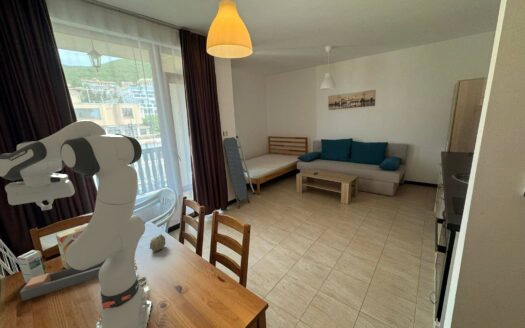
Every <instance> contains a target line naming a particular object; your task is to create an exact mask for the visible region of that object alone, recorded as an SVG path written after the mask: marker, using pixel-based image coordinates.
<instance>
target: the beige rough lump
mask: <svg viewBox="0 0 525 328" xmlns="http://www.w3.org/2000/svg"><path fill="white" fill-rule="evenodd" d="M166 243H167V242H166V237H165V236H164V235H163V234H159V235H156V236H154V237H152V239H151V240H150V243H149V249H150V250H151V251H152V252H155V251H156V252H158V251H161V250H162V249H163V248H164V247H165V245H166ZM160 249H161V250H160Z"/></svg>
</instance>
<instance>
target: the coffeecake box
mask: <svg viewBox="0 0 525 328" xmlns="http://www.w3.org/2000/svg"><path fill="white" fill-rule="evenodd" d="M88 223H89V222H88ZM88 223H87V222H86V223H84V224H81V225H79V226H75V227H73V228H70V229H67V230H64V231H62V232H59V233H56V234H55V237H56V238H55V239H56V241H57V246H58V250H59V253H60V257H61V262H62V265H63V267H64V268H65V269H68V268H72V267H70V266H69V265H68V263H67V261H66V258H65V254H66V250H67V248H68V246H69V245H70V244H71V243H72V242H73V241H75V240H76V239H77V238H78V237H79V236H80V234H81V233H82V232H83V231H84V229H85V228H86V226H87V225H88Z"/></svg>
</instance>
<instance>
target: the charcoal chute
mask: <svg viewBox="0 0 525 328" xmlns="http://www.w3.org/2000/svg"><path fill="white" fill-rule="evenodd" d="M105 261H106V260H105ZM105 261H103V262H101V263H100V264H97V265H95V266H93V267H90V268H88V269H85V270H76V269H74V268H68V269H66V268H65V269H61V270H58V271H54V272H51V273H49V274H50V278H51V282H49V283H45V284H42V285H38V286H35V287H32V288H28V289H26V287H25V286H26V285H27V283H28V282H29V281H30V279H29V281H28V282H27V283H26V282H25V285H24V286H23V287H22V288H21V290H20V291H19V294H20V297H21V300H22V302H23V301H24V302H25V301H27V300H30V299H33V298H37V297H40V296H42V295H43V296H44V295H46V294H48V293H53V292H55V291H58V290H59V291H60V290H62V289H65V288H68V287H72V286H75V285H77V284H80V283H81V284H82V283H85V282H88V281H90V280H94V279H97V278H99V277H98V274H99V270H100V268H101V266H102V265H103V264H104V262H105Z"/></svg>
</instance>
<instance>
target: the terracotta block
mask: <svg viewBox="0 0 525 328" xmlns="http://www.w3.org/2000/svg"><path fill="white" fill-rule="evenodd" d="M49 282H51V278H50V273H49V272H47V274H43V275H40V276H36V277H33V278H31V279H30V281H29V282H28V283H27V285H26V284H25V285H26V286H25V285H24V286H25V287H26V289H28V288H32V287H35V286H38V285H42V284H45V283H49Z"/></svg>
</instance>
